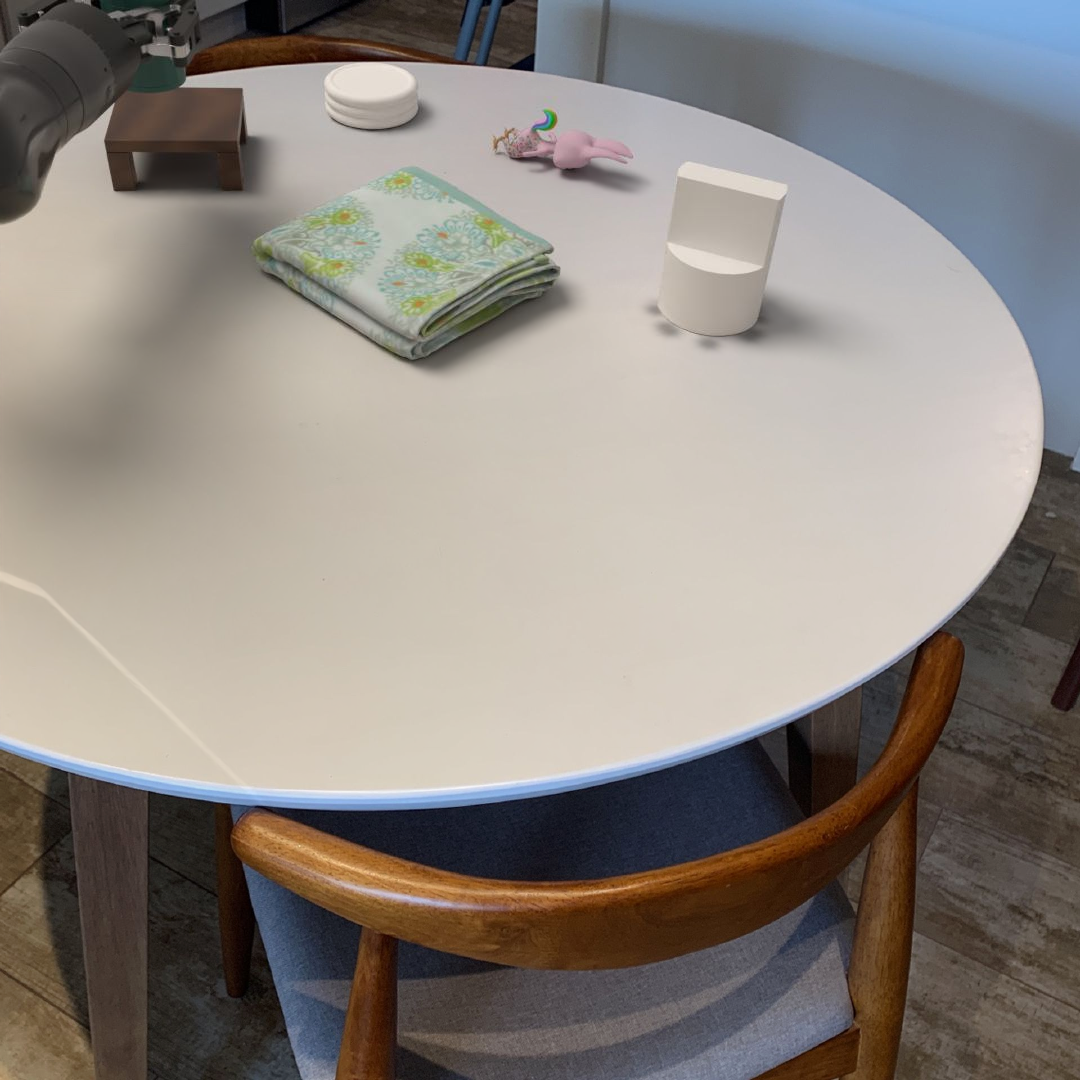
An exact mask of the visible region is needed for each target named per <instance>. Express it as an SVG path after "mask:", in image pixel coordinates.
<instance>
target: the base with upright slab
mask: <svg viewBox="0 0 1080 1080" xmlns="http://www.w3.org/2000/svg"><path fill="white" fill-rule="evenodd" d="M675 180H676V181H675V185H674V192H673V200H672V205H671V214H670V217H669V218H670V219H669V224H668V230H667V238H666V245H665V250H664V255H663V256H664V257H663V263H662V270H661V277H660V282H659V289H658V295H657V307H658V310H659V311H660V313H661V314H662V316H663V317H664V318H665V319H666V320H667V321H669V322H670V323H671V324H673V325H675V326H676V327H678V328H679V329H682V330H684V331H688V332H690V333H694V334H698V335H705V336H713V337H715V336H716V337H724V336H733V335H737V334H739V333H744V332H746V331H748V330H749V329H751V328H753V327H754V326H755V324H756V323H757V322H758V321H759V316H760V312H761V307H762V303H763V299H764V293H765V290H766V286H767V280H768V276H769V272H770V268H771V264H772V263H771V262H772V258H773V254H774V250H775V245H776V241H777V236H778V232H779V228H780V223H781V218H782V214H783V210H784V205H785V201H786V197H787V193H788V188H789V187H788V184H786V183H782V182H778V181H774V180H770V179H766V178H762V177H761V178H760V177H757V176H752V175H748V174H744V173H739V172H735V171H731V170H726V169H723V168H719V167H714V166H710V165H705V164H701V163H698V162H693V161H689V160H687V161H685V162H683V164H682V165H681V166H680V167H679V168H678V171H677V173H676V179H675ZM757 318H758V319H757ZM756 320H757V321H756ZM755 321H756V322H755ZM754 322H755V323H754ZM751 325H752V326H751ZM750 326H751V327H750Z"/></svg>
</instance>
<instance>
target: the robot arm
mask: <svg viewBox="0 0 1080 1080" xmlns="http://www.w3.org/2000/svg"><path fill="white" fill-rule="evenodd" d="M15 15H16V21H17V27H18V30H19V33H18V34H17V35H15V36H14V37H13V38H12V39H11V40H10V41H9V42H7V43H6V44H5V46H4V47H3V49H2V50H1V51H0V226H3V225H7V224H11V223H13V222H16V221H18V220H20V219H22V218H23V217H25V216H26V215H28V214H29V213H31V212H32V211H33V210H34V209H35V208H36V206H37V205H38V204H39V203H40V200H41V198H42V195H43V192H44V189H45V186H46V182H47V179H48V177H49V175H50V171H51V169H52V166H53V163H54V159H55V157H56V154H58V153H59V152H60V151H61V150H62V149H63V148H64V147H65V146H66V145H67V144H68V143H69V142H70V141H72V139H73V138H74V137H76V135H79V134H81V133H82V132H84V131H85V130H87V129H88V128H90V127H91V126H92V125H93V124H94V123H95V122H96V121H98V119H99V118H100V117H102V116H103V114H104V113H106V111H108V110H109V109H110V108H111V107H112V106H114V104H115V102H116V101H117V100H118V99H119V98H120V97H121V96H122V95H123V94H124V93H125V92H126V91H127V90H128V88H129V87H130V85H131V83H132V81H133V79H134V76H135V74H136V71H137V68H138V66H139V65H141V64H144V63H147V62H149V61H151V60H152V59H153V58H154V56H168V57H170V58H171V59H172V61H173V66H175V67H179V68H183V67H185V68H186V67H188V66H189V65H190V64H191V62H192V61H193V58H194V57H195V55H196V54H197V52H198V50H199V49H200V48H201V46H202V44H203V34H202V26H201V19H200V12H199V10H198V9H197V1H196V0H171V1H170V2H169V3H168V4H167V5H166V6H163V7H159V8H153V7H151V6H148V5H145V6H141V7H138V8H135V9H132V10H129V11H126V12H122V11H115V12H112V13H110V12H105V11H102V10H101V5H100V0H38V1H36V2H34V3H33V4H31V5H29V6H27V7H25V8H23V9H21V10H20V11H18V12H17V13H16V14H15ZM166 18H167V23H168V28H167V29H166V31H164V32H163V26H162V22H163V20H164V19H166ZM142 20H145V25H146V27H145V25H144V24H143V23H142Z"/></svg>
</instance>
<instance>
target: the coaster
mask: <svg viewBox="0 0 1080 1080" xmlns="http://www.w3.org/2000/svg"><path fill="white" fill-rule="evenodd" d="M323 81H324V82H323V88H324V90H325V91H324V99H325V103H324V107H325V110H326V113H327V114H328V115H329V116H330V117H331V118H332V119H333V120H334V121H336V122H338V123H340V124H343V125H345V126H348V127H352V128H356V129H363V130H383V129H390V128H395V127H398V126H402V125H404V124H406V123H409V121H411V120H412V119H414V117H415V116H416V115H417V113H418V111H419V103H418V100H419V95H418V89H419V84H418V81H417V79H416V77H415V76H414V75H413V74H412V73H411V72H409V71H407V70H406V69H404V68H402V67H399V66H396V65H392V64H388V63H383V62H382V63H381V62H355V63H349V64H345V65H341V66H339V67H337V68H335V69H333V70H331V71H330V72H329V73H328V74H327V75H326V77H325V78H324V80H323Z"/></svg>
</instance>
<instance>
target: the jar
mask: <svg viewBox="0 0 1080 1080" xmlns="http://www.w3.org/2000/svg"><path fill="white" fill-rule="evenodd" d="M170 1H171V0H100V5H101V10H102V11H105V12H110V13H112V12H115V11H122V12H126V11H129V10H132V9H135V8H138V7H141V6H145V5H148V6H151V7H153V8H159V7H163V6H166V5H167V4H168V3H169V2H170ZM142 23H143V24H144V25H145V20H142ZM162 26H163V32H164V31H166V29H167V28H168V23H167V18H166V19H164V20H163V22H162ZM145 27H146V25H145ZM186 72H187V69H186V67H183V68H179V67H175V66H173V61H172V59H171V58H170V57H168V56H154V58H153V59H152V60H151V61H149V62H147V63H144V64H141V65H139V66H138V68H137V71H136V74H135V76H134V79H133V81H132V83H131V85H130V87H129V88H128V91H131V92H137V93H160V92H166V91H170V90H173V89H176V88H178V87H182V86H183V85H184V84H185V83H186V81H187V74H186Z"/></svg>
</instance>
